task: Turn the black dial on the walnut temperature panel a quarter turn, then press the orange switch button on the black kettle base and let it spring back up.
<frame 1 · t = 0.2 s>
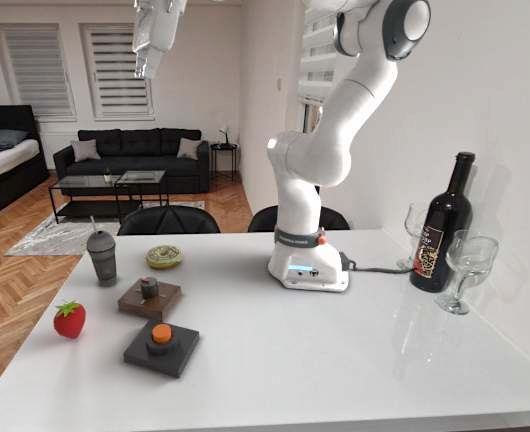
hand: (143, 78, 56), 52 cm above the table, tool tilted 20°, fingers open, 8 cm apart
temp dial: (149, 286, 74), point 5 cm above the table, hinge at 0.0°
decorated donut: (164, 262, 94), on the table
kettle switch: (161, 333, 61), point 4 cm above the table, slide at 0.1 cm
temp panel: (151, 303, 76), on the table
strawberry: (75, 338, 66), on the table
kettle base: (163, 349, 63), on the table
beverage cup: (108, 282, 84), on the table
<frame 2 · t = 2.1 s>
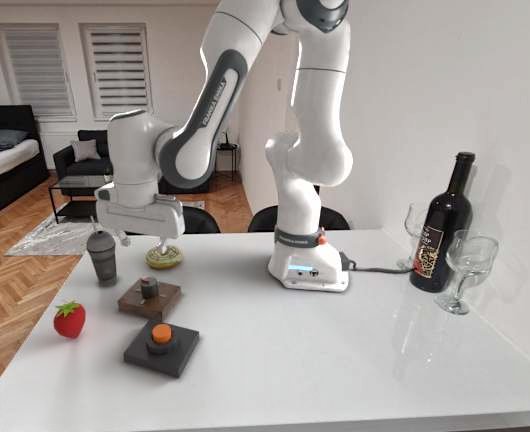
hand: (143, 248, 70), 16 cm above the table, tool pointing down, fingers open, 8 cm apart
nothing on the table moved.
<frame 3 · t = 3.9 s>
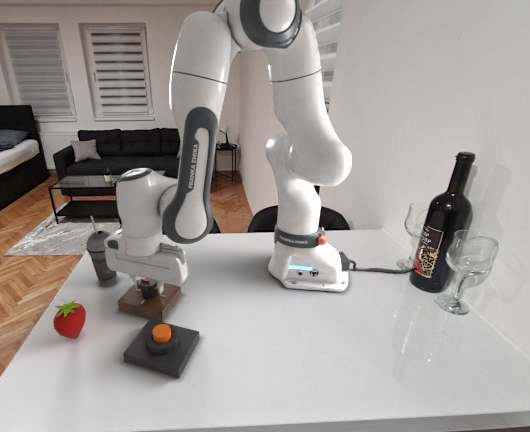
hand: (149, 289, 74), 4 cm above the table, tool pointing down, fingers closed on temp dial, 4 cm apart
temp dial: (149, 286, 74), point 5 cm above the table, hinge at 0.1°, touching gripper
everything else where it was.
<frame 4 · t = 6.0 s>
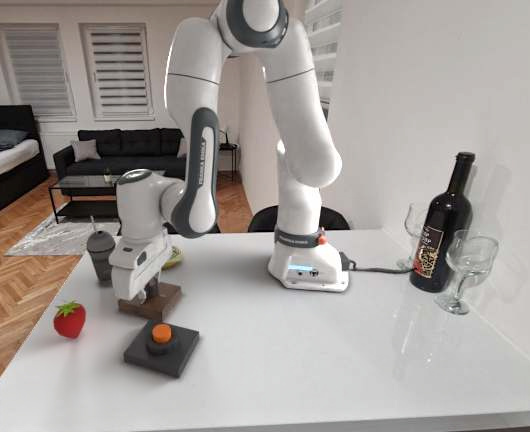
hand: (149, 290, 75), 4 cm above the table, tool pointing down, fingers closed on temp dial, 4 cm apart
temp dial: (149, 286, 74), point 5 cm above the table, hinge at 91.0°, touching gripper
everything else where it was.
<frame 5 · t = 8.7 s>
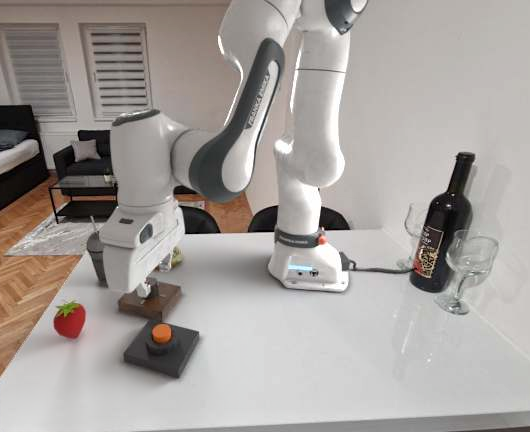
hand: (155, 281, 56), 17 cm above the table, tool pointing down, fingers open, 6 cm apart
temp dial: (149, 286, 74), point 5 cm above the table, hinge at 90.7°
everything else where it was.
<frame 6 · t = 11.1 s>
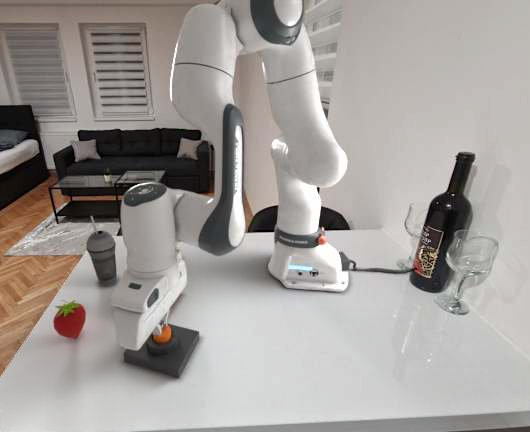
hand: (160, 330, 61), 5 cm above the table, tool pointing down, fingers closed, pressing on kettle switch
kettle switch: (161, 333, 61), point 4 cm above the table, slide at 0.1 cm, touching gripper
everything else where it was.
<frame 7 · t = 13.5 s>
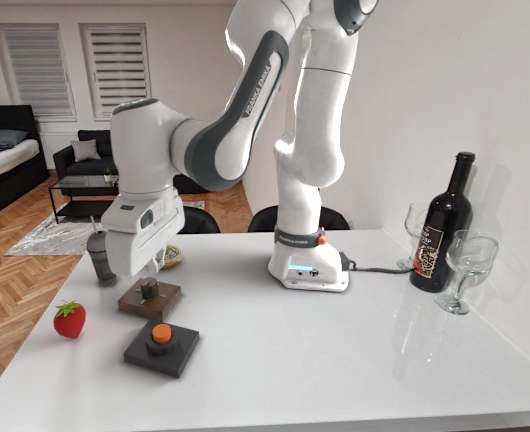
hand: (156, 269, 57), 19 cm above the table, tool pointing down, fingers closed
kettle switch: (161, 333, 61), point 4 cm above the table, slide at 0.1 cm
everything else where it was.
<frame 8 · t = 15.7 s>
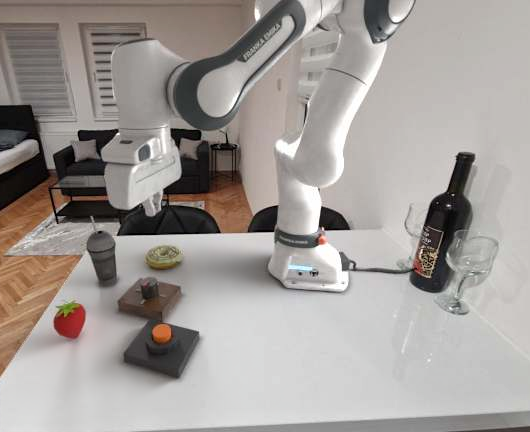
hand: (153, 213, 60), 27 cm above the table, tool pointing down, fingers closed
nothing on the table moved.
at the end: temp dial at +91° (first picture: +0°); kettle switch pushed in 1.2 cm at the most during the clip, back to where it started at the end; kettle switch slide at 0.1 cm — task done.
